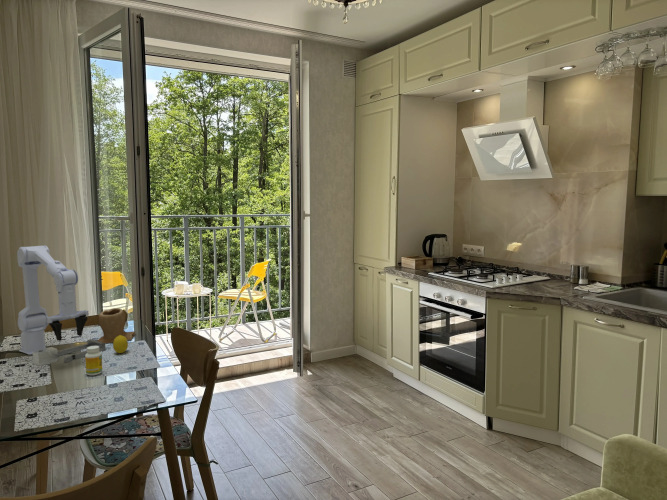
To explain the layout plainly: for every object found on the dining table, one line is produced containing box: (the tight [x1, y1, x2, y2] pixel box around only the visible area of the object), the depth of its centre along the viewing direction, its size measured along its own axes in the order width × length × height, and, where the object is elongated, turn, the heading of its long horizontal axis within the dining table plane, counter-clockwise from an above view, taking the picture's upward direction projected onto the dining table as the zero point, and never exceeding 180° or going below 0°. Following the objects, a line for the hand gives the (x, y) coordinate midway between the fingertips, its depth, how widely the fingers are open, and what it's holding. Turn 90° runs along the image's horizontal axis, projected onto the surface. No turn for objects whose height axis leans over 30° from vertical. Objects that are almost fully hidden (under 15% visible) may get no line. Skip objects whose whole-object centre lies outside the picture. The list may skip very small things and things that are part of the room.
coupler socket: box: [57, 339, 107, 364], centre depth 195 cm, size 13×17×4 cm
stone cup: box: [97, 307, 136, 345], centre depth 211 cm, size 15×12×15 cm
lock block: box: [32, 346, 59, 367], centre depth 185 cm, size 4×7×5 cm, turn 146°
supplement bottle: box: [84, 346, 103, 376], centre depth 173 cm, size 5×5×10 cm
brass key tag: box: [74, 341, 87, 347], centre depth 206 cm, size 6×3×2 cm, turn 76°
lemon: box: [112, 335, 129, 354], centre depth 195 cm, size 6×6×8 cm
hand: (69, 337), depth 181 cm, fingers open, 7 cm apart
